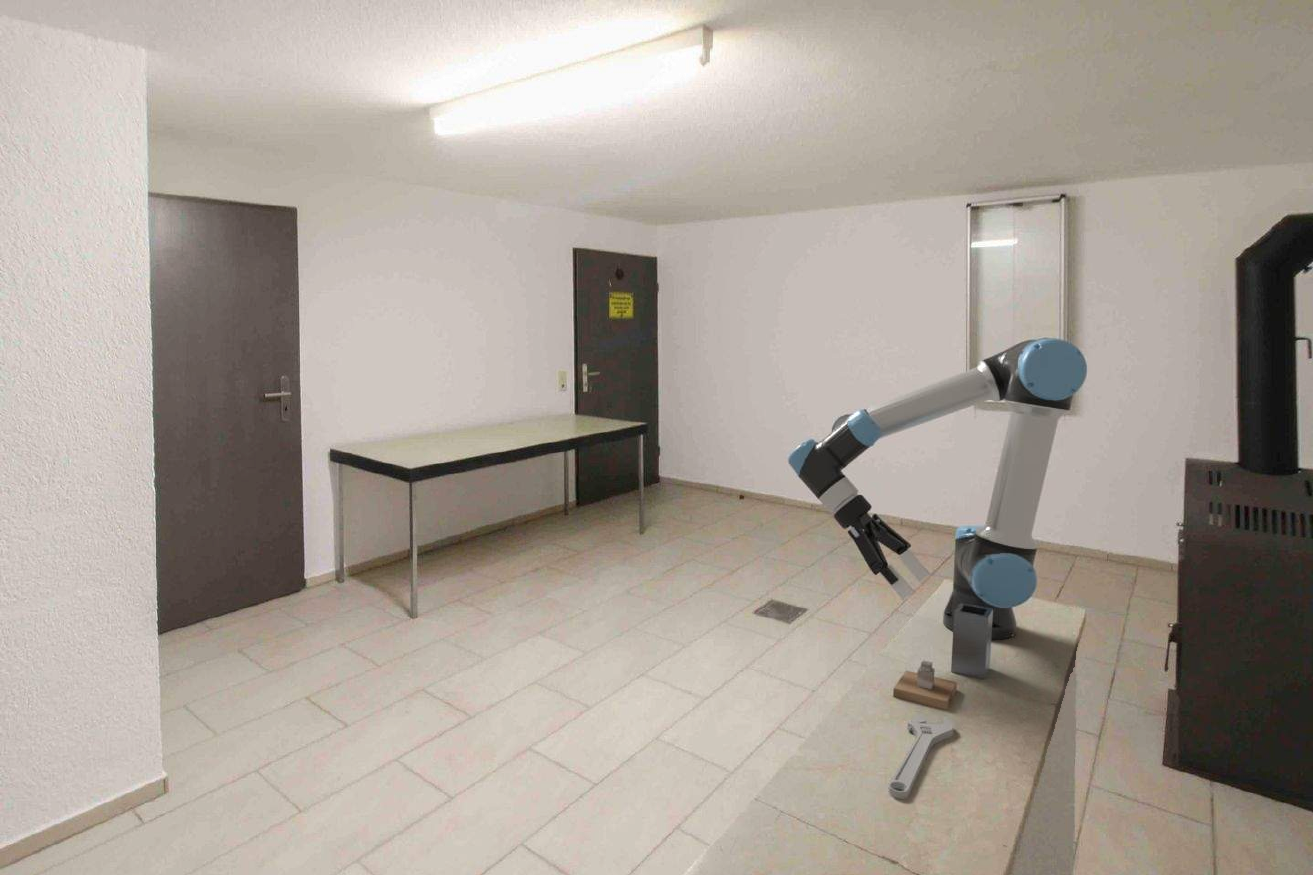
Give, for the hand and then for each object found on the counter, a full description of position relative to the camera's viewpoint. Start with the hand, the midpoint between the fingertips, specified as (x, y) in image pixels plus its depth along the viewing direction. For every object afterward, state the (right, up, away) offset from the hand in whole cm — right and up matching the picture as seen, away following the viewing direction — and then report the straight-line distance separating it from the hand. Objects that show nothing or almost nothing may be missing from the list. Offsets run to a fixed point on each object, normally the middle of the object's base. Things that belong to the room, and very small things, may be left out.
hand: (917, 586), depth 145 cm
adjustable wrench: (-13, -19, -34) cm, 41 cm away
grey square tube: (+9, -15, -4) cm, 18 cm away
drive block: (-4, -17, -14) cm, 22 cm away
